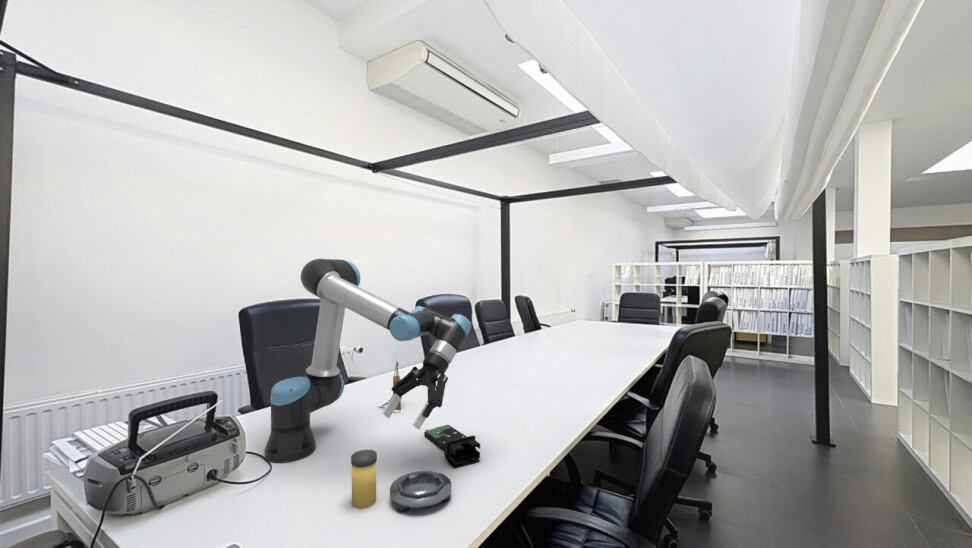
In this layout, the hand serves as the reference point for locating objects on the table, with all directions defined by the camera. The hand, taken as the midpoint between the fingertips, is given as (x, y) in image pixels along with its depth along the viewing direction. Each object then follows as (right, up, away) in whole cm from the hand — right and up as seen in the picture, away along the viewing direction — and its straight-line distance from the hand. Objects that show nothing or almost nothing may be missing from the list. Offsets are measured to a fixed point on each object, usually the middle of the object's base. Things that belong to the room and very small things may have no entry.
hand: (399, 421), depth 110 cm
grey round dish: (+7, -18, -6) cm, 20 cm away
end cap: (+16, -18, +14) cm, 28 cm away
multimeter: (-19, -18, +63) cm, 69 cm away
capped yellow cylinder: (-8, -18, -8) cm, 21 cm away
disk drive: (+10, -19, +30) cm, 37 cm away
